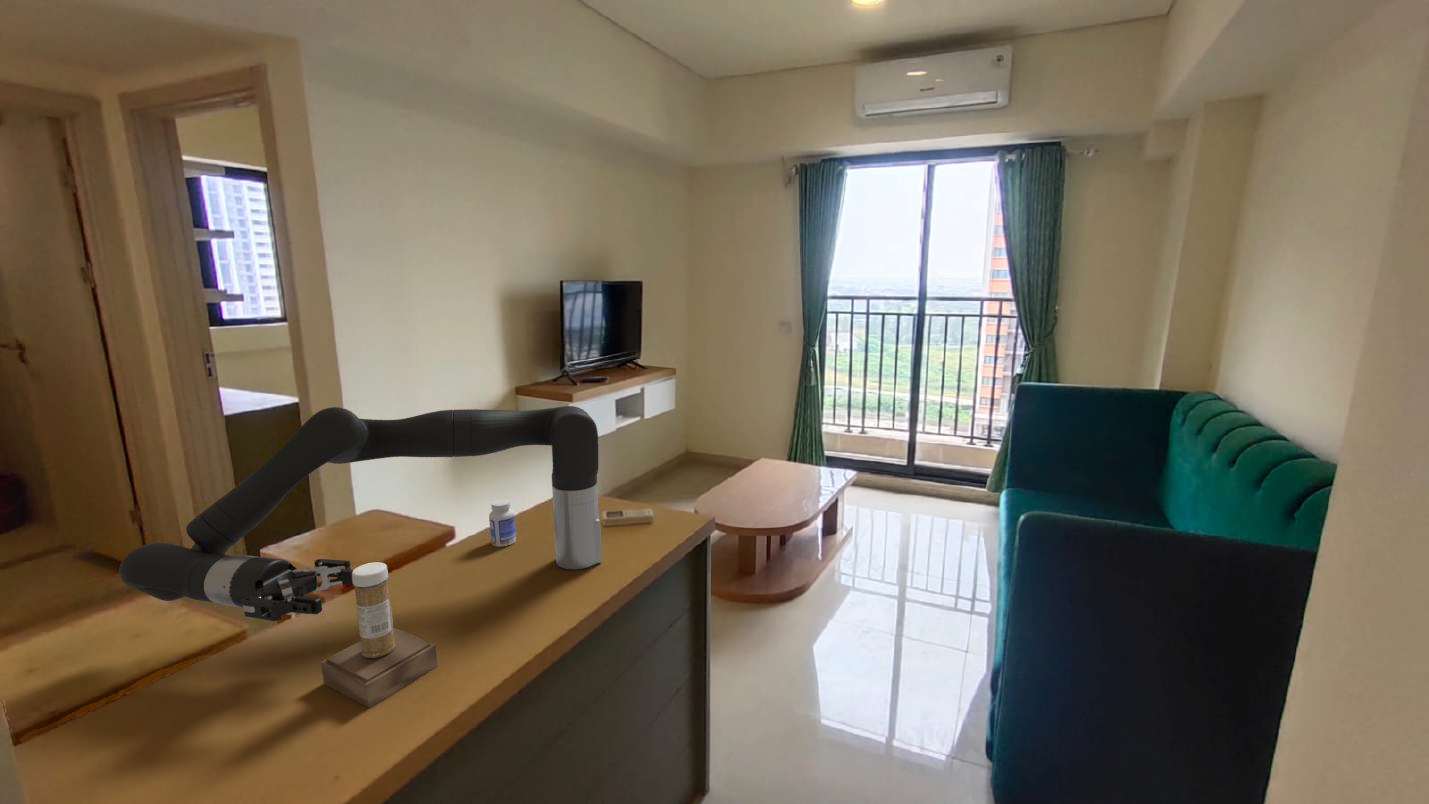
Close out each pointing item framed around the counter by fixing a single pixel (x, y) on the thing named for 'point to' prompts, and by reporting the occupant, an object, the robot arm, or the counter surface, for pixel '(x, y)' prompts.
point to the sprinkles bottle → (373, 609)
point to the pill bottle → (502, 524)
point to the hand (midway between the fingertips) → (342, 592)
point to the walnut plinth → (379, 669)
